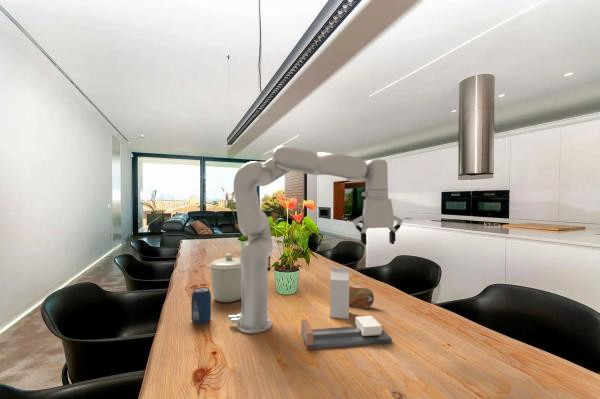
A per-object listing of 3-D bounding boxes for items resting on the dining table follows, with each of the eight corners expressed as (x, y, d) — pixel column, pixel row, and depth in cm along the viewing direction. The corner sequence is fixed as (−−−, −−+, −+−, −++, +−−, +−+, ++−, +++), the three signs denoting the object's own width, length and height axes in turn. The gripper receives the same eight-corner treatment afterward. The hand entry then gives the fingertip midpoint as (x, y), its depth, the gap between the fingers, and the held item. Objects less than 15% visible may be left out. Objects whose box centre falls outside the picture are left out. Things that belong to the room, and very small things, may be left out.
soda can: (211, 316, 110) (211, 286, 110) (210, 324, 103) (210, 291, 103) (192, 318, 108) (193, 287, 108) (190, 326, 101) (190, 293, 101)
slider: (364, 338, 90) (364, 327, 90) (355, 326, 98) (355, 316, 98) (381, 336, 91) (381, 325, 91) (371, 325, 98) (371, 315, 98)
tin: (338, 304, 123) (338, 285, 123) (340, 302, 126) (340, 283, 126) (373, 310, 117) (373, 290, 117) (374, 307, 120) (374, 287, 120)
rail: (306, 350, 86) (306, 333, 86) (301, 334, 96) (301, 319, 96) (391, 343, 90) (391, 327, 90) (378, 328, 100) (378, 315, 100)
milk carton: (348, 319, 108) (348, 270, 108) (330, 317, 109) (330, 269, 109) (348, 312, 115) (349, 266, 115) (331, 310, 116) (331, 265, 116)
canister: (244, 290, 141) (245, 249, 141) (251, 303, 124) (251, 255, 124) (207, 294, 135) (207, 251, 135) (209, 308, 118) (209, 258, 118)
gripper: (354, 195, 94) (355, 246, 94) (405, 194, 94) (406, 245, 94) (350, 196, 101) (351, 242, 101) (397, 194, 101) (399, 241, 101)
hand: (378, 243), depth 98 cm, fingers open, 9 cm apart
